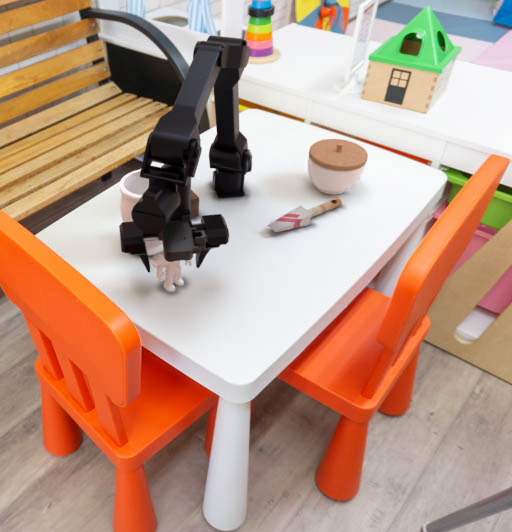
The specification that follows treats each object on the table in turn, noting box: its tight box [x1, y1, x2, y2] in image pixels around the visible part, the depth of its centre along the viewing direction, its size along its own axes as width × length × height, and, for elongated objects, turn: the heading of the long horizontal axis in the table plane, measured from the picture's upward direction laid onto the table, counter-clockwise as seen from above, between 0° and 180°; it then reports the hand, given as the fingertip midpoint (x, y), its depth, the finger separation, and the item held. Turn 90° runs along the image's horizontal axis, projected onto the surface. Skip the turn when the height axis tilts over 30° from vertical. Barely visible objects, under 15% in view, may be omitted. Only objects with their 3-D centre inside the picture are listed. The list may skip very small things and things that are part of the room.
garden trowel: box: [266, 197, 343, 233], centre depth 114 cm, size 4×3×20 cm
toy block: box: [190, 189, 200, 220], centre depth 117 cm, size 5×5×5 cm
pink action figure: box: [150, 250, 193, 293], centre depth 97 cm, size 9×4×12 cm, turn 130°
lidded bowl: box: [307, 138, 369, 196], centre depth 121 cm, size 13×13×11 cm
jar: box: [118, 169, 164, 256], centre depth 106 cm, size 11×10×15 cm
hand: (173, 268), depth 98 cm, fingers open, 9 cm apart
